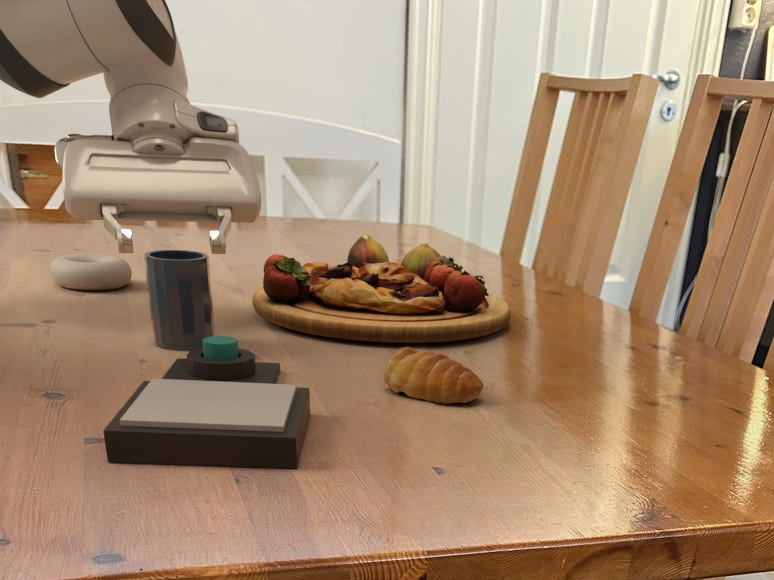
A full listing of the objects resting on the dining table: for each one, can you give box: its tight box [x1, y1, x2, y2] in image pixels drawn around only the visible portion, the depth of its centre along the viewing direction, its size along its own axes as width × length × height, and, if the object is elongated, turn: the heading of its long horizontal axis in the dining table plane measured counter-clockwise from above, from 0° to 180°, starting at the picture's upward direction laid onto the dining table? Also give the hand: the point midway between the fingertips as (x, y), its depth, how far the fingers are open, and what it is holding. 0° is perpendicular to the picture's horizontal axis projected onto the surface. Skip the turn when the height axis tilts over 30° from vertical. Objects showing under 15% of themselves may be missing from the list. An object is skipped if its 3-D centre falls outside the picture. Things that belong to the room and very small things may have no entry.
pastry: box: [383, 346, 484, 405], centre depth 89 cm, size 9×7×4 cm
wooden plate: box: [252, 234, 512, 344], centre depth 115 cm, size 32×32×8 cm
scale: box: [102, 378, 311, 469], centre depth 75 cm, size 14×13×3 cm
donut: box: [49, 253, 133, 291], centre depth 121 cm, size 10×4×10 cm
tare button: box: [202, 335, 239, 360], centre depth 88 cm, size 3×3×2 cm
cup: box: [143, 249, 216, 352], centre depth 97 cm, size 6×6×9 cm
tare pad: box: [161, 347, 281, 384], centre depth 88 cm, size 10×8×2 cm
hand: (173, 250), depth 99 cm, fingers open, 8 cm apart
